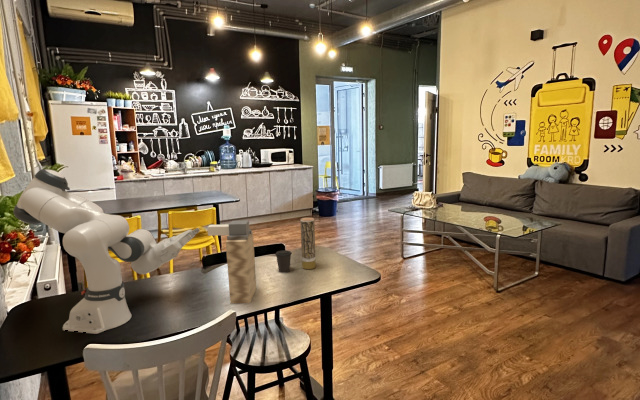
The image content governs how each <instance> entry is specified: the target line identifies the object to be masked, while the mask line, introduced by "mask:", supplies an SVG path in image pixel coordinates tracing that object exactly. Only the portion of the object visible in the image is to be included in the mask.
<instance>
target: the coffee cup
mask: <svg viewBox="0 0 640 400" xmlns="http://www.w3.org/2000/svg"><path fill="white" fill-rule="evenodd" d="M275 256H276V261H277V267H278V272H279V273H282V274H284V273H289V272H290V271H291V270H290V269H291V257H292V252H291V251H290V250H286V249H285V250H278V251H276V252H275Z"/></svg>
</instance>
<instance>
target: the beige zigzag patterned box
mask: <svg viewBox="0 0 640 400" xmlns="http://www.w3.org/2000/svg"><path fill="white" fill-rule="evenodd" d="M225 249H226V263H227V275H228V278H227V279H228V290H229V302H230V304H251V302H252V299H253V297H254V296H255V292H256V291H257V280H256V262H255V246H254V232H253V230H252V229H250V235H249V236H248V235H236V236H229V235H226V241H225Z"/></svg>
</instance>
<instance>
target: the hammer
mask: <svg viewBox="0 0 640 400" xmlns="http://www.w3.org/2000/svg"><path fill="white" fill-rule="evenodd" d="M206 228H207V236H210V237H211V236H236V235H248V236H249V235H250V230H251V229H250V220H232V221H230V222H229V223H228V224H227V223H226V224H225V223H224V224H209V225H208V226H207V227H206Z"/></svg>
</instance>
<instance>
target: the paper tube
mask: <svg viewBox="0 0 640 400" xmlns="http://www.w3.org/2000/svg"><path fill="white" fill-rule="evenodd" d="M315 226H316V225H315V218H314V217H302V218H300V240H301V242H300V243H301V244H300V245H301V248H300V249H301V268H302V269H304V270H313V269H315V268H316V267H317V266H316V263H317V262H316V238H315V237H316V235H315V234H316V233H315V231H316V230H315V228H316V227H315Z"/></svg>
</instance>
